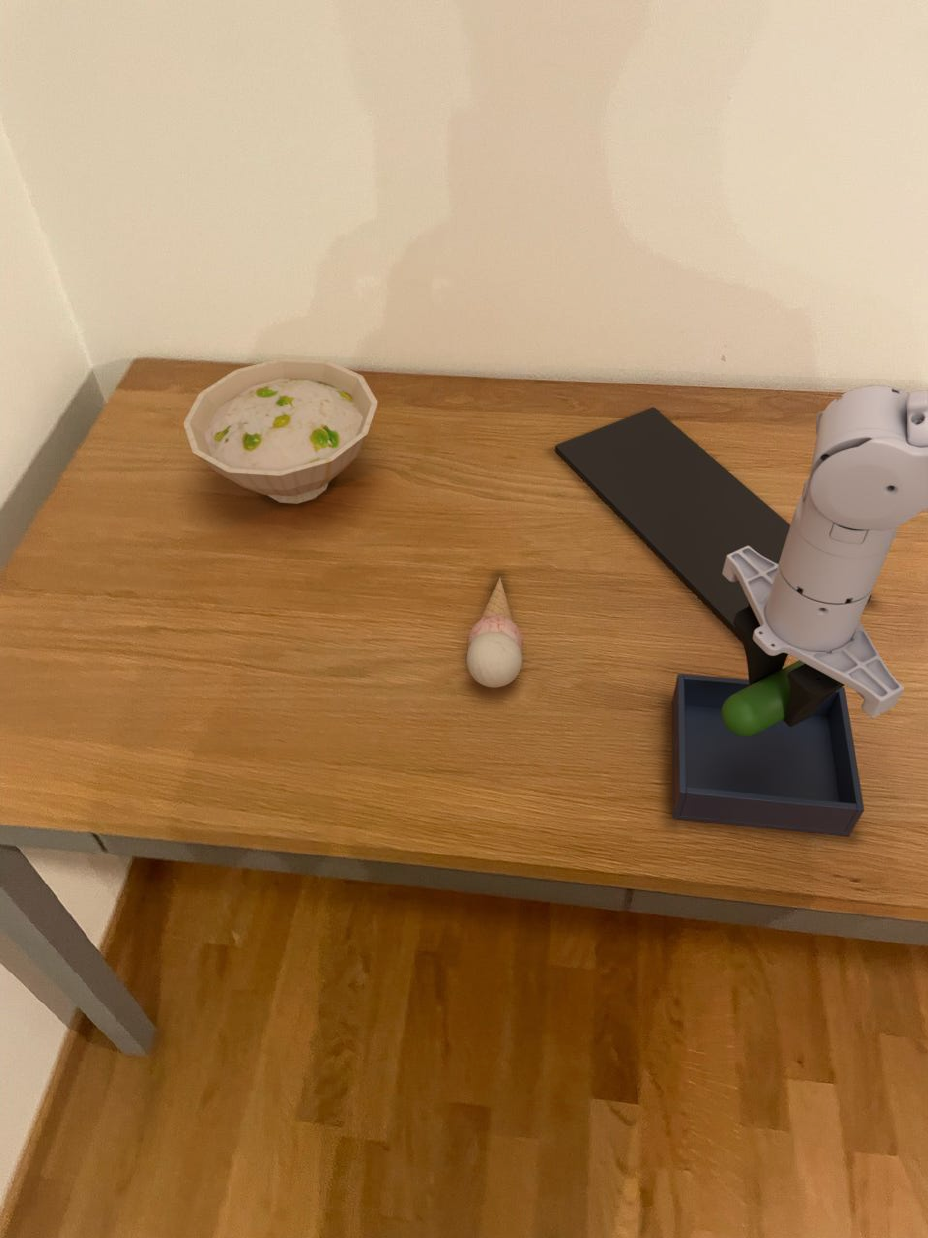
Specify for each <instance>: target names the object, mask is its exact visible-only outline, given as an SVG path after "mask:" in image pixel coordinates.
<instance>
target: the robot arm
mask: <svg viewBox="0 0 928 1238" xmlns="http://www.w3.org/2000/svg"><path fill="white" fill-rule="evenodd" d="M815 436H816V437H815V442H814V449H813V456H812V461H811V467H810V472H809V477H808V478H807V479H806V481H805V483H804V485H803V488H802V493H801V496H800V498H799V499H798V502H797V504H796V506H795V508H794V512H793V515H792V519H791V522H790V528H789V532H788V535H787V538H786V541H785V545H784V548H783V551H782V554H781V558H780V561H779V564H777V563H774V562H772V561H770V560H769V559H767V558H765V557H763V556H762V555H760V554H759V553H757V552H756V551H755V550H754V549H752V548H751V547H750V546H746V547H744V548H742V549H739V550H737V551H735V552H733V553H731V554H729V555H727V556H726V560H725V564H724V568H723V573H722V574H723V575H724V576H725V577H726V578H727V579H728V580H729V581H730V582H735V581H737V580H739V582H740V584H741V586H742V588H743V590H744V592H745V594H746V597H747V599H748V601H749V603H750V604H749V605H748V607H746V608H744V609H742V610H740V611H739V612H737V613H736V615H735V617H734V621H733V624H734V626H735V628H736V629H737V631H738V633H739V635H740V637H741V640H742V641H741V640H740V641H741V642H742V645H743V649H744V651H745V652H744V653H745V657H746V663H747V674H748V680H749V684H750V685H752V684H754V683H756V682H758V681H760V680H762V679H764V678H766V677H768V676H770V675H772V674H774V673H775V672H777V671H779V670H781V669H783V668H784V666H785V663H786V662H787V658H788V655H789V656H791V657H792V658H795V659H796V660H797V661H799V660H800V661H802V662H804V663H805V664H803V665H801V666H800V667H798V668H796V669H794V670H792V671H790V672H788V674H787V677H788V680H789V684H790V697H789V701H788V704H787V707H786V709H785V712H784V722H785V723H786V724H787V725H788V726H789V727H793V726H795V725H797V724H798V723H800V722H802V721H804V720H806V719H808V718H809V717H811V716H812V714H813V713H814V712H815V711H816V709H817V708H818V707H819V706H820V705H821V704H822V703H823V702H824V701H825V700H826V699H827V698H828V697H829V696H831V695H832V694H833V693H835V692H836V691H837V690H839V689H840V688H842V687H845V686H846V687H848V688H849V689H851V690H853V691H854V692H856V693H857V694H858V695H859V697H861V698H862V699H863V701H862V703H861V707H860V708H861V710H862V711H863V712H864V713H865V714H866V715H867V716H869V718H870V719H874V718H877V717H879V716H880V715H882V714H884V713H886V712H887V711H889V710H890V709H891V710H892V708H894V707H896V706H897V704H898V702H899V700H900V698H901V696H902V695H903V693H904V690H905V689H906V688H905V686H903V685H902V683H901V682H900V681H898V679H896V678H895V676H894V675H893V674H892V672H891V671H890V669H889V668H888V667H887V665H886V663H885V661H884V659H883V658H882V656H881V654H880V653H879V651H878V650H877V648H876V646H875V644H874V642H873V641H872V639H871V638H870V636H869V634H868V632H867V630H866V629H865V627H864V625H863V624H862V621H861V618H862V615H863V614H864V612H865V608H866V607H867V605H868V602H869V601H868V599H869V597H870V595H872V593H873V590H874V587H875V585H876V583H877V580H878V578H879V575H880V573H881V571H882V568H883V566H884V564H885V562H886V560H887V557H888V555H889V552H890V550H891V548H892V545H893V543H894V541H895V539H896V537H897V534H898V531H899V527H900V526H902V525H904V524H906V523H907V522H909V521H911V520H912V519H914V518H915V517H916V516H917V515H919V514H921V513H923V512H926V511H928V389H923V390H915V391H910V392H908V391H905V390H903V389H899V388H896V387H894V386H890V385H883V384H872V385H871V384H870V385H864V386H860V387H857V388H853V389H851V390H848V391H846V392H844V393H842V394H841V397H840V398H839V399H838V398H835V399H833V400H832V401H831V402H830V403H829V404H828V405H827V406H826V407H825V408H824V410H823V411H820V412H818V413H817V416H816V422H815Z"/></svg>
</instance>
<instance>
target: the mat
mask: <svg viewBox="0 0 928 1238" xmlns="http://www.w3.org/2000/svg"><path fill="white" fill-rule="evenodd" d="M554 452H555V453H556V454H557V455H558V456H559V457H560V458H561V459H562V460H563V461H564V462H565V463H566V464H567V465H568V466H569V467H570V468H571V469H572V470H573V471H574V473H576V474H577V476H578V477H579V478H581V480H583V481H584V482H585V483H586V484H587V486H588V487H590V489H591V490H592V491H593V492H594V493H595V494H596V495H597V496H598V497H599V498H600V499H601V500H602V501H603V502H604V503H605V504H606V505H607V506H608V507H609V508H610V509H611V510H612V511H613V512H614V513H615V514H616V515H617V516H618V517H619V519H621V520H622V521H623V522H624V523H625V524H626V525H627V526H628V527H629V528H630V529H631V530H632V531H633V532H634V533H635V534H636V536H637V537H639V538H640V540H642V541H643V542H644V543H645V545H646V546H648V548H649V549H650V550H651V551H652V552H653V553H654V554H655V555H656V556H657V557H658V558H659V559H660V560H661V561H662V562H663V563H664V564H665V565H666V566H667V567H668V568H669V570H671V571H672V572H673V573H674V574H675V575H676V576H677V578H679V580H681V582H683V583H684V584H685V585H686V587H688V588H689V589H690V590H691V591H692V592H693V593H694V594H695V596H697V597H698V598H699V599H700V601H701V602H702V603H704V605H706V607H707V608H708V609H709V610H710V611H711V612H712V613H713V614H714V615H715V616H716V617H717V618H718V619H719V620H720V621H721V622H722V623H723V625H725V626H726V628H727V629H729V630H730V631H731V632H732V633H733V634H734V635H735V636H736V638H738V639H739V641H740V642H742V640H741V637H740V635H739V633H738V631H737V629H736V628H735V626H734V624H733V621H734V617H735V615H736V613H737V612H739V611H740V610H742V609H744V608H746V607H748V605H749V604H750V603H749V601H748V599H747V597H746V594H745V592H744V590H743V588H742V586H741V584H740V582H739V580H737V581H735V582H730V581H729V580H728V579H727V578H726V577H725V576H724V575H723V574H722V573H723V568H724V564H725V560H726V556H727V555H729V554H731V553H733V552H735V551H737V550H739V549H742V548H744V547H746V546H750V547H751V548H752V549H754V550H755V551H756V552H757V553H759V554H760V555H762V556H763V557H765V558H767V559H769V560H770V561H772V562H774V563H777V564H779V561H780V558H781V554H782V551H783V548H784V545H785V541H786V538H787V535H788V532H789V528H790V525H791V523H789V522H788V521H786V520H785V518H783V517H782V516H781V515H780V514H779V513H777V512H776V511H775V510H774V509H773V508H771V506H769V505H768V504H767V503H766V502H764V501H763V500H762V499H761V498H760V497H759V496H758V495H756V494H755V493H754V492H753V491H752V490H751V489H750V488H749V487H747V486H746V485H745V484H744V483H743V482H742V481H740V480H739V479H738V478H737V477H736V476H734V474H732V473H731V472H730V471H729V470H728V469H726V468H725V467H724V466H723V465H722V464H721V463H720V462H719V461H717V460H716V459H715V458H713V456H711V455H710V454H709V453H708V452H706V450H704V449H703V448H702V447H701V446H700V445H699V444H698V443H697V442H695V441H694V440H693V439H691V437H689V436H688V435H687V434H686V433H685V432H684V431H682V430H681V428H679V427H678V426H677V425H676V424H674V423H673V422H672V421H671V420H670V419H669V418H667V416H665V415H664V414H663V413H662V412H660V411H659V410H658V409H657V408H656V407H654V406H653V407H650V408H648V409H644V410H643V411H639V412H637V413H635V414H633V415H630V416H627V417H625V418H622V419H619V420H617V421H615V422H614V421H613V422H612V423H609V424H606V425H604V426H602V427H599V428H596V429H594V430H591V431H589V432H586V433H584V434H581V435H579V436H576V437H573V438H571V439H568V440H565V441H564V442H560V443H558V444H556V445H555V446H554ZM871 598H872V594H871V595H870V597H869V599H868V602H870V600H871Z"/></svg>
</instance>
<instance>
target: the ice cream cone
mask: <svg viewBox="0 0 928 1238" xmlns="http://www.w3.org/2000/svg"><path fill="white" fill-rule="evenodd" d="M503 585H504V584H503V582H502V579H501V577H499V578H498V580H497V582H496V585H495V587H494V589H493V592H492V594H491V596H490V598H489V600H488V603H487V605H486V607H485V609H484V611H483V614H482V615H481V618H480V619H479V620H478V621H477V622H476V623H474V625H473V626H472V628H471V630H470V632H469V635H468V639H467V644H468V645H467V646H468V649H467V653H466V657H465V658H466V665H467V666H466V667H467V671H468V672H469V674H470V675H471V677H472V678H473V679H474V680H475V682H476V683H478V684H480V685H481V686H485V687H488V688H502V687H505V686H507V685H509V684H510V683H512V682H513V681H514V680H515V679H516V678H517V677H518V676H519V673H520V672H521V669H522V666H523V655H522V651H523V646H524V641H523V636H522V632H521V630H520V628H519V627H518V625H517V624H516V623H515V622H514V620H513V617H512V613H511V610H510V607H509V603H508V599H507V596H506V593H505V589H504V586H503Z"/></svg>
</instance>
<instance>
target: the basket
mask: <svg viewBox="0 0 928 1238" xmlns="http://www.w3.org/2000/svg"><path fill="white" fill-rule="evenodd" d="M748 686H750V684H749V678H748V679H747V678H736V677H735V678H734V677H723V676H710V675H699V674H689V673H688V674H687V673H685V674H684V673H677V675H676V681H675V684H674V690H673V694H672V698H671V772H672V773H671V779H672V780H671V782H672V784H671V786H672V787H671V788H672V791H671V792H672V819H674V820H683V821H693V822H703V823H712V824H713V823H714V824H722V825H723V824H724V825H731V826H742V827H750V828H751V827H752V828H763V829H772V830H781V831H782V830H783V831H790V832H791V831H792V832H799V833H800V832H802V833H812V834H821V835H830V836H831V835H832V836H839V837H850V836H851V834H852V832H853V830H854V829H855V827H856V826H857V823H858V822H859V820H860V818H861V816H862V815H863V813H864V812H865V806H864V800H863V793H862V787H861V781H860V776H859V768H858V763H857V755H856V749H855V743H854V737H853V732H852V731H853V730H852V726H851V720H850V719H851V718H850V712H849V706H848V701H847V695H846V688H845V686H843V687H842V688H840V689H839V690H837V691H836V692H835V693H833V694H832V695H831V696H829V697H828V698H827V699H826V700H825V701H824V702H823V703H822V704H821V705H820V706H819V707H818V708H817V709H816V711H815V712H814V713H813V714H812V716H811V717H809V718H808V719H806V720H804V721H802V722H800V723H798V724H797V725H795V726H793V727H789V726H788V725H787V724H786V723H785V722H784V720H782V721H780V722H778V723H776V724H774V725H773V726H771V727H769V728H767V729H765V730H763V731H761V732H760V733H758V734H756V735H753V736H749V737H742V736H738V735H735V734H733V733H732V732H730V731H729V730H728V729H727V728H726V726H725V725H724V723H723V721H722V716H721V711H722V707H723V704H724V703H725V701H726V700H727V699H728V698H729V697H730V696H731V695H733V694H735V693H737V692H739V691H741V690H743V689H745V688H746V687H748Z"/></svg>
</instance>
